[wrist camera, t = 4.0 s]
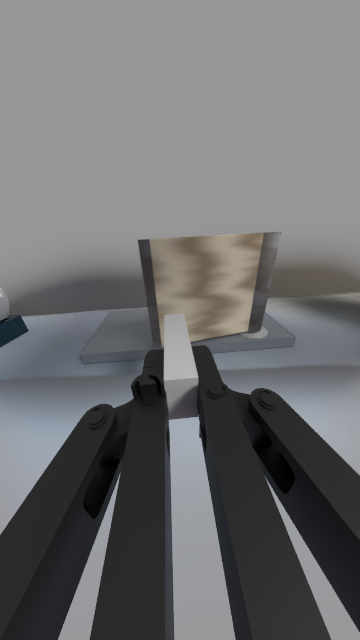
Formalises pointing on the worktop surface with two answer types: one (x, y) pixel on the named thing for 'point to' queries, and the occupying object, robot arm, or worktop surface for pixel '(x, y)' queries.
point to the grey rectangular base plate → (136, 340)
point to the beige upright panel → (208, 282)
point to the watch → (9, 322)
